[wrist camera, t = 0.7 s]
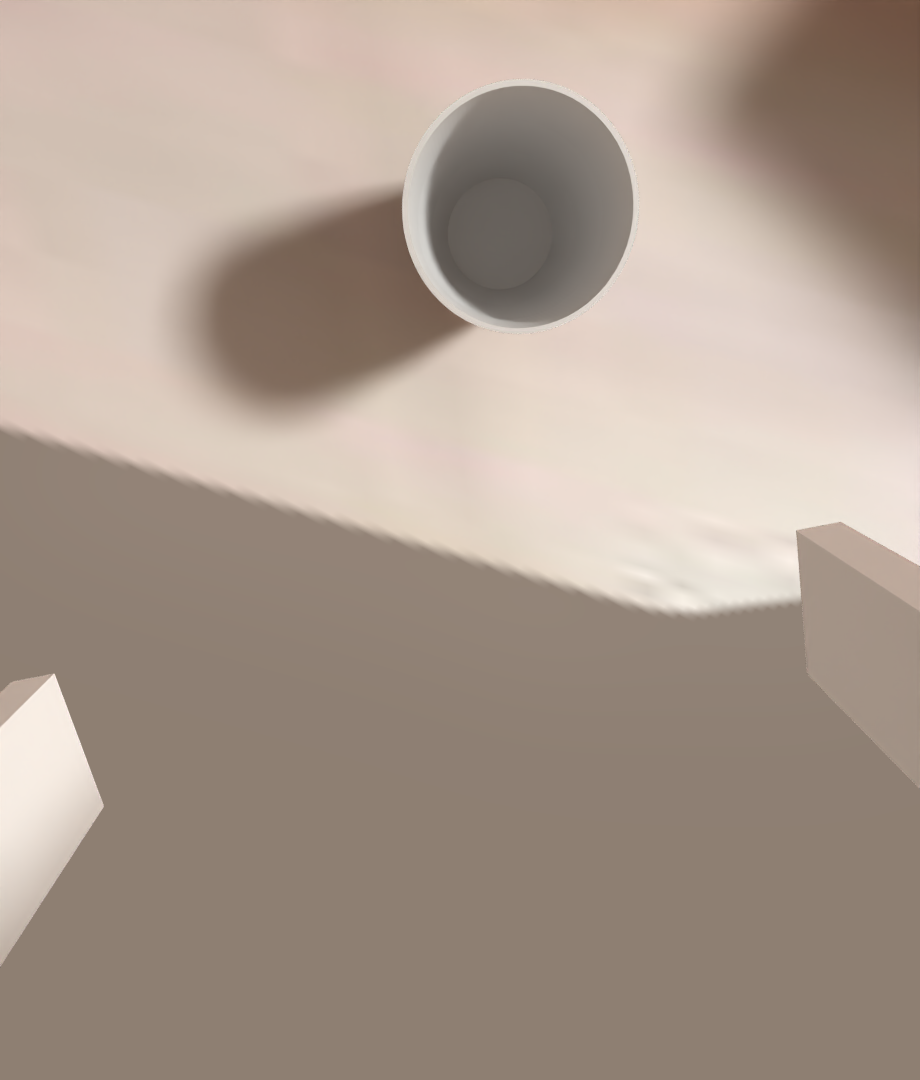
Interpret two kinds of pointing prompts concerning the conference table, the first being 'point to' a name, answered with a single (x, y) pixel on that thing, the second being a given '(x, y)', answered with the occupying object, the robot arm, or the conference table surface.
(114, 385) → the conference table surface
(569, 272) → the cup
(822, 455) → the conference table surface
